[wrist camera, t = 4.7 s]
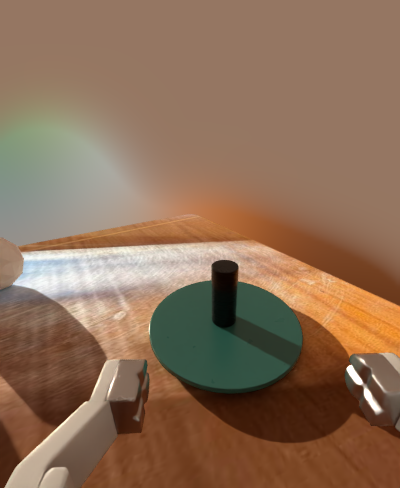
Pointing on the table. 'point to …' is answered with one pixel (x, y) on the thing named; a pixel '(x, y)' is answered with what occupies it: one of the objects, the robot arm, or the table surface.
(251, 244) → the table surface
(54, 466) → the robot arm
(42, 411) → the table surface
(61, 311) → the table surface
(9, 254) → the ornament
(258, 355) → the lid
